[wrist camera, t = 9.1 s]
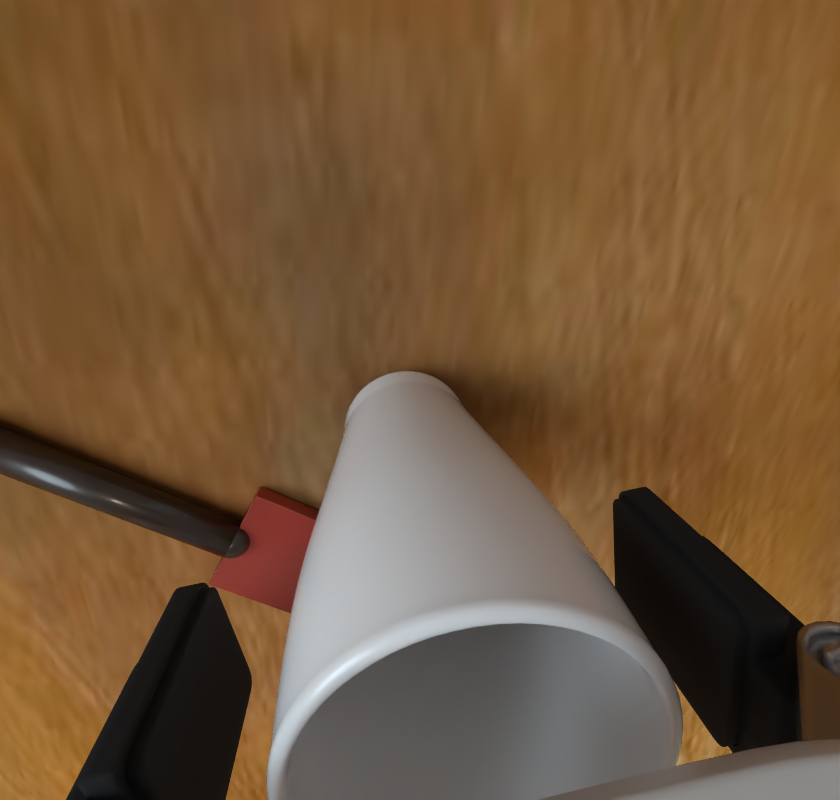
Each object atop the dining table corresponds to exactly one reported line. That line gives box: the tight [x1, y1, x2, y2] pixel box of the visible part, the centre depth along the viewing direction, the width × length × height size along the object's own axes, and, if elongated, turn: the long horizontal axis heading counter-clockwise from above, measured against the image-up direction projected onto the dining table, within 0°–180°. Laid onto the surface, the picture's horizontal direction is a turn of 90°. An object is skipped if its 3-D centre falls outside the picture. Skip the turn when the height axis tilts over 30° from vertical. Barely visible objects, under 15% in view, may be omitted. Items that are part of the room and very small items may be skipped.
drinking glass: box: [266, 371, 683, 800], centre depth 14 cm, size 7×7×15 cm
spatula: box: [0, 427, 319, 613], centre depth 21 cm, size 20×5×2 cm, turn 60°
